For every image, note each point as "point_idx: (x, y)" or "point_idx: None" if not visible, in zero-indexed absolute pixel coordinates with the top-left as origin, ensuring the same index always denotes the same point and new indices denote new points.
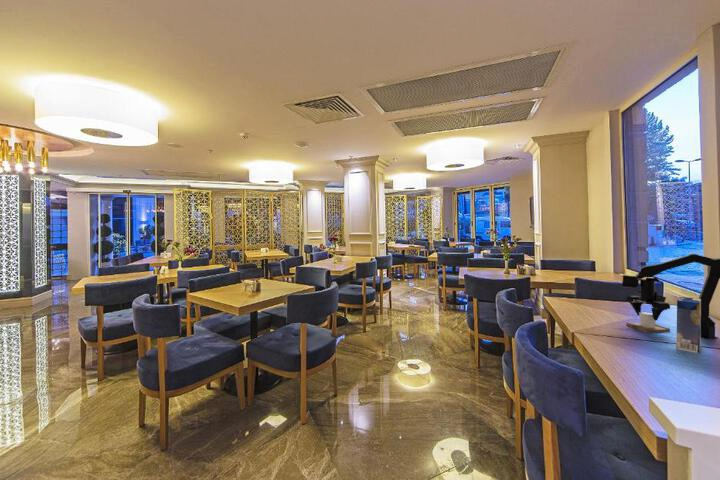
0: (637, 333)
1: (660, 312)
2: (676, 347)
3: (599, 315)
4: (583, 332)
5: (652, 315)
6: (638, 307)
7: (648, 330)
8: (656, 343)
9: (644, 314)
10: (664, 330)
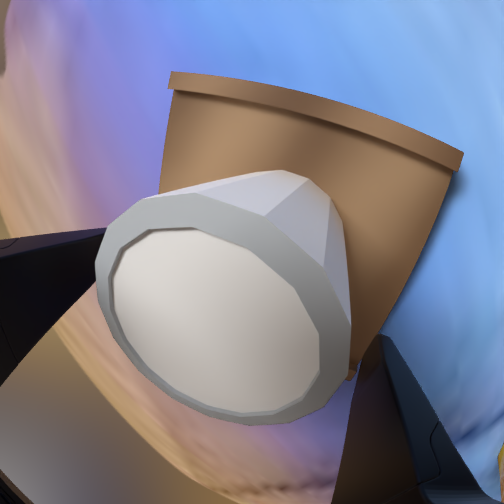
0: (323, 414)
1: (451, 478)
2: (498, 462)
3: (11, 196)
4: (220, 486)
5: (322, 405)
6: (13, 302)
7: (355, 366)
8: None
9: (228, 419)
10: (433, 216)
